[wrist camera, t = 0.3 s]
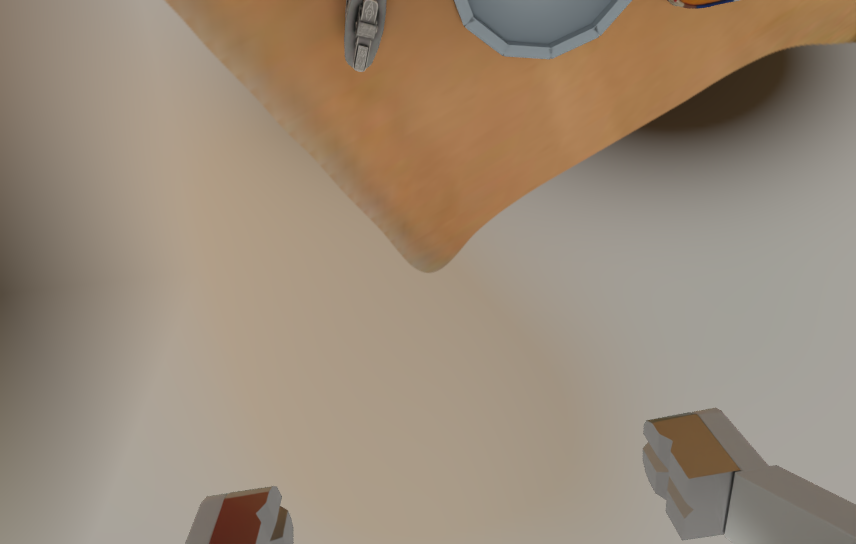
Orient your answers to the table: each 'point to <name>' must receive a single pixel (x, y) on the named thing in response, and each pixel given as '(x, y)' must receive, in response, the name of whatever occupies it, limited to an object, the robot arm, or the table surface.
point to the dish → (538, 24)
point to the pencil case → (698, 3)
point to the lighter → (363, 31)
